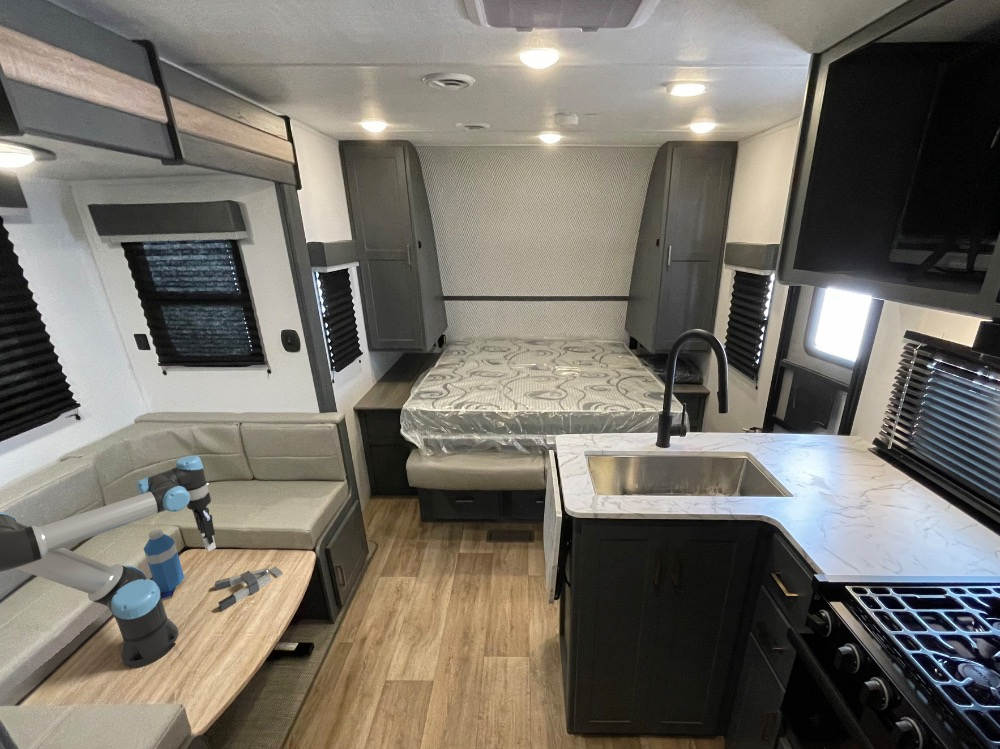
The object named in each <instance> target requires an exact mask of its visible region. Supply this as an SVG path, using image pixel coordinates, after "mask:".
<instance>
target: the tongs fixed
mask: <svg viewBox="0 0 1000 749" xmlns="http://www.w3.org/2000/svg"><path fill="white" fill-rule="evenodd" d="M270 573H271V574H272V575H273V576H274V577H275V578H276V579H277V578H279V577H281V576H283V575H284V573H283V571H282V570H281V569H280V568H278V567H277V566H273V567H271V568H270V569H269V574H270ZM269 574H268V573H267V574H266V575H264V576H262V577H261V578H259V579H257V582H258V585H259V589H261V588H263V587H264V586H266V585H268V584H269V583H271V582H272V578H271V574H270V575H269ZM249 595H251V592H250V588H249V586H248V585H247V584H246V586H244V587H242V588H240V589H239V590H237V591H236V592H234V593H232V594H230V595H229V596H227V597H225V598H224V599H222V600H220V601H219V602H218V603H217V604H218V607H219V610H220V611H221V612H224V611H225V610H228V609H229V608H230V607H232V606H234V605H235V604H237V603H238V602H239V601H241V600H243V599H245V598H246V597H249Z"/></svg>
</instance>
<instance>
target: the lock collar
mask: <svg viewBox="0 0 1000 749" xmlns="http://www.w3.org/2000/svg"><path fill="white" fill-rule="evenodd" d="M251 572H252V571H250V570H247V571H244V572H242V573H241V574H239V575H240V576H241V579H242V580H243V581H244V582H245V584H246V586H247V585H248V586H249V588H250V592H251V594H250V595H251V596H253V595H254V594H255V593H257V592H259V591H260V589H261V588H259V585H258V582H257V578H256V577H255V576H254V575H253V574H252V573H251Z"/></svg>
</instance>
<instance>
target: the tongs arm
mask: <svg viewBox="0 0 1000 749" xmlns="http://www.w3.org/2000/svg"><path fill="white" fill-rule="evenodd" d="M250 572H251V573H252V574H253V575H254V576H255V577H256V578H257V579H259V578H261V577H262V576H264V575H266V574H267V573H268V574H269V575H270V576H271V574H270V569H269V568H268V567H264V568H260V569H256V570H254V571H252V570H251V571H250ZM240 575H241V574H238V575H235V576H230V577H226V578H222V579H219V580H216V581H214V588H215V591H220V590H224V589H227V588H231V587H234V586H236V585H237V586H238V585H241V584H244V583H245V582H244V581H243V580H242V579H241V576H240ZM245 584H246V583H245Z"/></svg>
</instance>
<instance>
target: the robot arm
mask: <svg viewBox="0 0 1000 749" xmlns="http://www.w3.org/2000/svg"><path fill="white" fill-rule="evenodd" d="M209 485H210V484H209V482H207V479H206V475H205V470H204V465H203V462H202V458H201V457H199V456H197V455H187V456H184V457H181V458H179V459H177V461H176V462H175V467H173V468H170V469H168V470H165V471H163V472H162V471H161V472H159V473H157V474H153V475H150V476H147V477H145V478H143V479H140V480H138V481H137V482H136V484H135V487H136V492H137V494H138V495H136V496H132V497H128V498H127V499H124V500H123V499H122V500H120V501H116V502H113V503H110V504H106V505H105V506H104V505H103V506H100V507H97V508H94V509H91V510H88V511H86V512H83V513H79V514H76V515H73V516H70V517H66V518H63V519H60V520H58V521H54V522H51V523H48V524H44V525H42V526H36V525H30V526H27V525H24V524H22V523H20V522H18V521H17V520H16V518H15V517H13V516H12V515H10V514H8V513H7V512H2V511H1V512H0V573H2V572H6V571H10V570H13V569H17V570H18V571H22V572H25V573H28V574H31V575H33V576H36V577H40V578H43V579H45V580H47V581H51V582H54V583H57V584H60V585H63V586H65V587H69V588H71V589H75V590H77V591H81V592H83V593H85V594H87V598H88V599H89V601H92V602H94V603H97V604H101V605H103V606H106V607H108V609H109V611H110V613H111V614H112V616H113V617H114V619H115V621H116V623H117V626H118V629H119V632H120V633H121V638H122V646H121V653H120V657H121V661H122V664H123V665H124V666H125V667H127V668H133V669H134V668H141V667H145V666H147V665H150V664H152V663H154V662H156V661H158V660H159V659H160V660H161V659H162V658H163V657H165V656H166V655H167V654H168V653H169V652H170V651H171V650H172V649H173V648H174V647H175V646H176V641H177V640H178V636H179V628H178V626H177V625H176V624H175V623H174V622H172V620H171V619H170V618H168V616H167V613H166V612H167V611H166V609H165V606H164V603H163V602H164V601H162V599H161V596H160V590H159V587H158V586H157V584H156V583H155V582H154V581H153V579H149V578H147V577H146V574H145V573H144V572H143V570H141V569H140V568H139V567H136V566H133V565H122V564H118V563H117V564H113V565H111V566H109V565H108V564H105V563H102V562H100V561H97V560H95V559H92V558H90V557H87V556H85V555H83V554H79V553H77V552H75V551H72V550H70V549H68V548H65V547H67V546H70V545H73V544H75V543H79V542H81V541H84V540H87V539H89V538H93V537H95V536H98V535H101V534H103V533H106V532H110V531H111V530H115V529H117V528H121V527H123V526H126V525H128V524H131V523H133V522H137V521H139V520H142V519H145V518H148V517H151V516H153V515H156V514H159V513H162V512H165V511H168V512H172V513H173V512H175V513H176V512H177V513H178V512H179V511H182V510H183V509H185V508H186V507H187V509H188V510H191V511H192V513H193V516H194V519H195V523H196V527H197V530H198V531H199V533H201V534H200V535H201V538H202V542H203V545H204V549H205V550H207V552H211V551H213V550H214V549H216V548H217V546H216V542H215V538H214V536H215V534H216V533H215V529H214V528H215V526H214V523H213V515H212V514H210V509H209V507H207V506H208V505H209V504H211V501H212V498H211V494H210V492H209V488H208V486H209Z"/></svg>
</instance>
